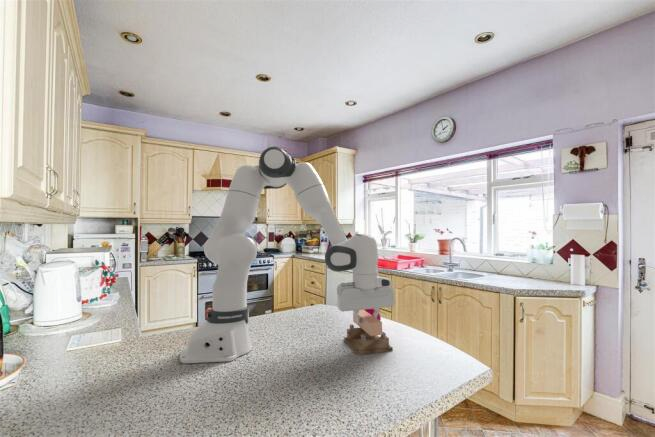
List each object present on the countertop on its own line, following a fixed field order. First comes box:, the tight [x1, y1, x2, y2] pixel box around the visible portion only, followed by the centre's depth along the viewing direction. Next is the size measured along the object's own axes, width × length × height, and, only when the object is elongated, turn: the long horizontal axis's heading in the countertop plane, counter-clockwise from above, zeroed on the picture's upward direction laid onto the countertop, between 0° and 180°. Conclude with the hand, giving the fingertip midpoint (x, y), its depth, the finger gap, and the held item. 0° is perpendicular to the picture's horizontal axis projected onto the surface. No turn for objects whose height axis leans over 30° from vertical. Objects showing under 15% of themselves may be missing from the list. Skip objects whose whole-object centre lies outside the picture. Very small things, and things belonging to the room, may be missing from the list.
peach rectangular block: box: [352, 309, 383, 336], centre depth 108 cm, size 4×16×4 cm, turn 16°
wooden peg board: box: [343, 324, 394, 356], centre depth 108 cm, size 12×14×6 cm
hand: (366, 321), depth 108 cm, fingers closed on peach rectangular block, 4 cm apart
